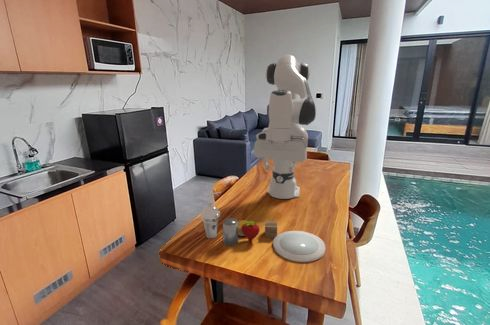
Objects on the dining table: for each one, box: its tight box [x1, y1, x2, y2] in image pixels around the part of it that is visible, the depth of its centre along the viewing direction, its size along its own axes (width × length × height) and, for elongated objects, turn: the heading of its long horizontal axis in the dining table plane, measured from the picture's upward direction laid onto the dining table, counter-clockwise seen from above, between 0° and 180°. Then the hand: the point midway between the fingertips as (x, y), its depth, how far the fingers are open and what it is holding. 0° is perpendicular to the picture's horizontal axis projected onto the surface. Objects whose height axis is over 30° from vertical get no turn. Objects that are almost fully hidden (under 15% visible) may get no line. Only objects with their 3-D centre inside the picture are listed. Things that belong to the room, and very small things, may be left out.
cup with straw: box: [199, 190, 223, 239], centre depth 109 cm, size 8×9×20 cm
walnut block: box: [264, 220, 278, 239], centre depth 111 cm, size 5×5×5 cm
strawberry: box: [241, 219, 261, 242], centre depth 106 cm, size 6×8×10 cm
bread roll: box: [237, 220, 249, 237], centre depth 114 cm, size 8×9×4 cm
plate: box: [272, 230, 326, 263], centre depth 103 cm, size 20×20×1 cm
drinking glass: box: [222, 217, 239, 247], centre depth 106 cm, size 6×6×9 cm
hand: (279, 170), depth 101 cm, fingers open, 8 cm apart
